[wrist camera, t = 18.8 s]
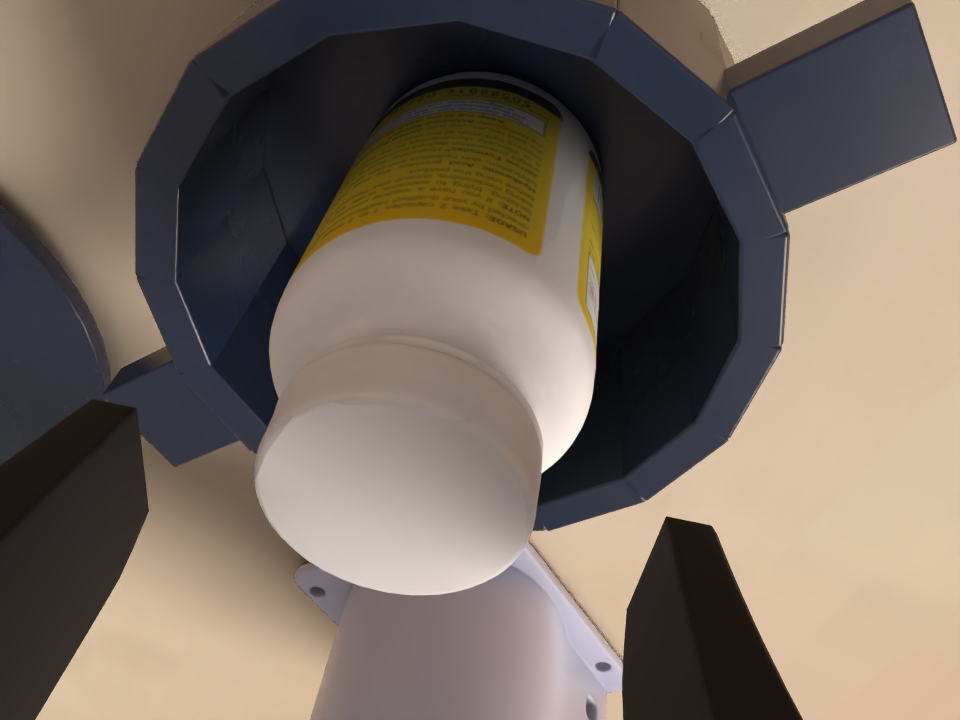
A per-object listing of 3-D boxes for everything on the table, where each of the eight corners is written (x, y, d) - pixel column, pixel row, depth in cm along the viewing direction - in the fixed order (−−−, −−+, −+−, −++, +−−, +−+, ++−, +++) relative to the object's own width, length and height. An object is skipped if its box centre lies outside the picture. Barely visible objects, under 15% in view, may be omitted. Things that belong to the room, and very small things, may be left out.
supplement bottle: (315, 157, 20) (120, 455, 12) (506, 10, 18) (412, 269, 10) (464, 323, 22) (379, 664, 15) (652, 214, 20) (668, 554, 12)
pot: (949, 227, 20) (1041, 382, 15) (343, 458, 26) (287, 611, 22) (755, -346, 14) (812, -357, 10) (56, 130, 21) (-92, 247, 17)
